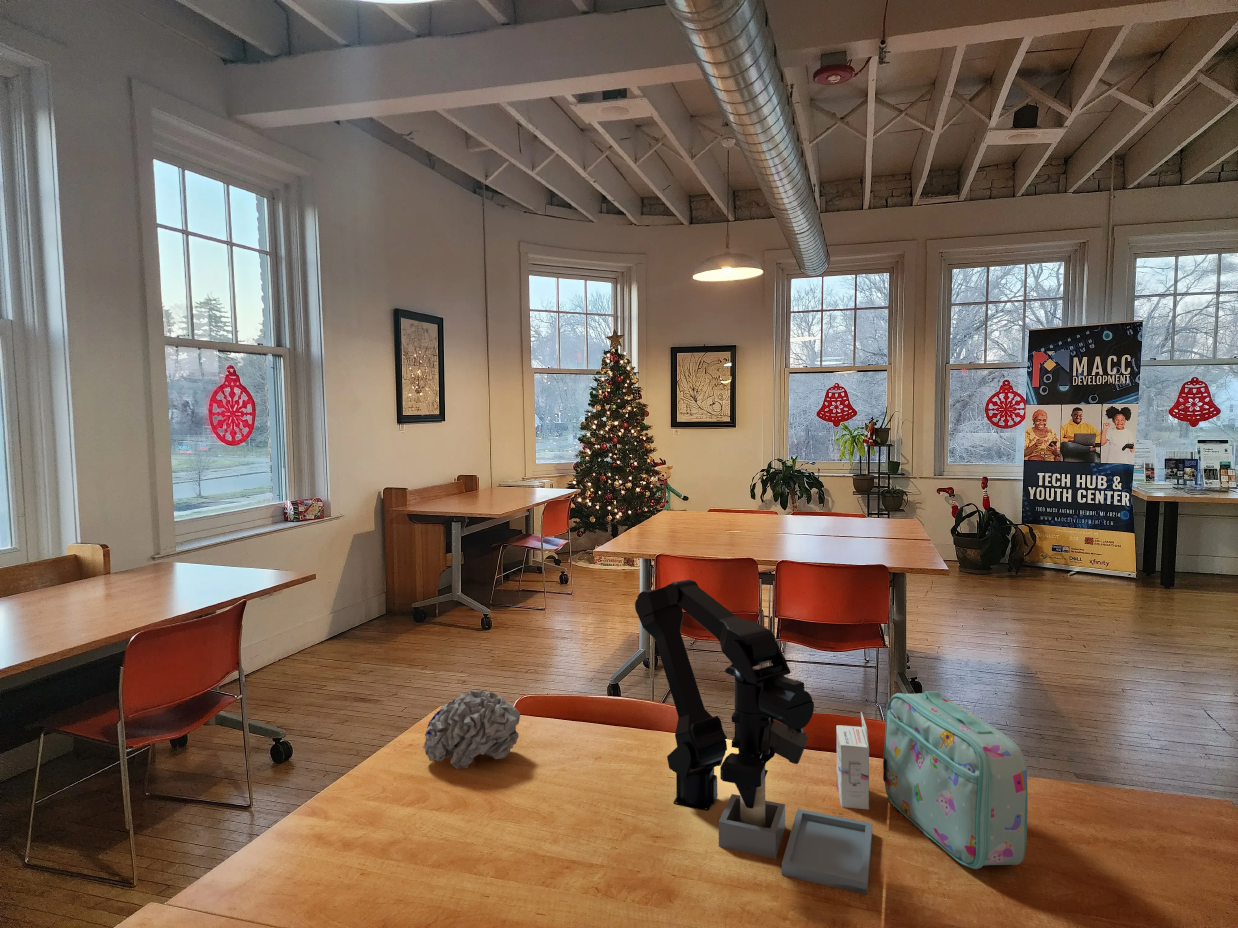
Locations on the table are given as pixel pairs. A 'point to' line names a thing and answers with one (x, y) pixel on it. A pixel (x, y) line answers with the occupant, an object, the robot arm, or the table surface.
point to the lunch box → (956, 779)
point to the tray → (829, 851)
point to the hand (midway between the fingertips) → (752, 800)
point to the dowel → (754, 809)
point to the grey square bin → (752, 829)
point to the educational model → (472, 729)
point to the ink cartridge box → (853, 765)
